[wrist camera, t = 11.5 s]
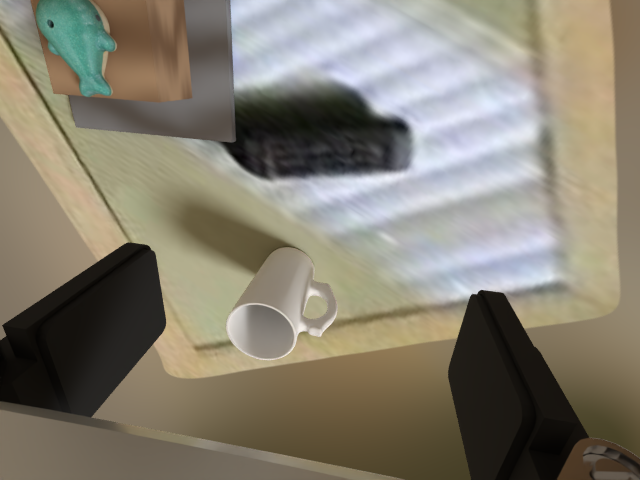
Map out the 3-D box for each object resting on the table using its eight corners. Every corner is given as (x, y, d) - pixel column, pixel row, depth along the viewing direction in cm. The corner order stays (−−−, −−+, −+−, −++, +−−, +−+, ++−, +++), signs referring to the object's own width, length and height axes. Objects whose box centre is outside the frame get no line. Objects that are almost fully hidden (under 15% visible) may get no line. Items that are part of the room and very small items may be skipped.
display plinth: (36, -81, 32) (-48, -119, 25) (227, -77, 30) (186, -117, 23) (82, 126, 40) (26, 135, 33) (235, 140, 38) (206, 154, 31)
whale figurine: (114, -8, 27) (76, -19, 24) (137, 95, 30) (106, 98, 27) (48, -4, 28) (2, -15, 24) (77, 96, 31) (39, 99, 27)
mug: (263, 287, 45) (227, 353, 34) (263, 241, 42) (224, 297, 32) (340, 299, 44) (328, 371, 33) (346, 252, 41) (334, 314, 30)
